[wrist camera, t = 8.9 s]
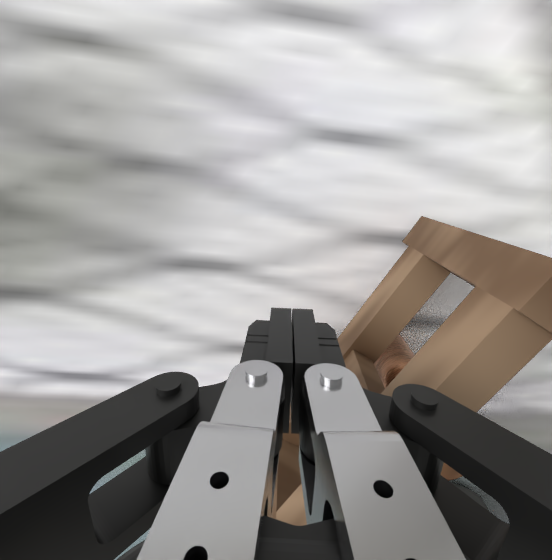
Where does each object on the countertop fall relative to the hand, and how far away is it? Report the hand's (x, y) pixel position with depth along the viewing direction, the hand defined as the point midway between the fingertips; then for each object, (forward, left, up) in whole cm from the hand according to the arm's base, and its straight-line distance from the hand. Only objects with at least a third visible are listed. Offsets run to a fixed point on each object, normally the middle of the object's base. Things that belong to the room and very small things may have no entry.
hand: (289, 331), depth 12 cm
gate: (-5, -2, -7) cm, 8 cm away
